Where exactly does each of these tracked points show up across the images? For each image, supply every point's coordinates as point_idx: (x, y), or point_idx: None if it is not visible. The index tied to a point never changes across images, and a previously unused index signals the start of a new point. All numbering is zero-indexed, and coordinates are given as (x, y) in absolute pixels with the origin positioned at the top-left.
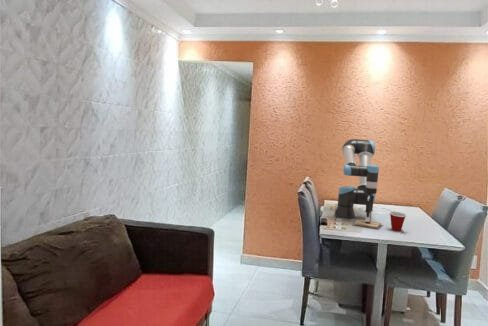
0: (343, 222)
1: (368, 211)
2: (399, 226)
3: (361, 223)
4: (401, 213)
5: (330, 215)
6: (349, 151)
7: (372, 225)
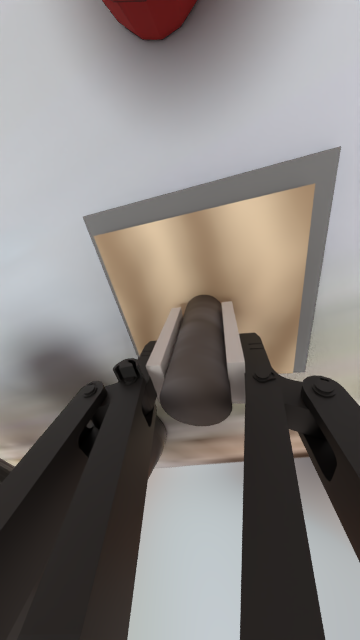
0: (232, 411)
1: (336, 395)
2: None
3: (262, 339)
4: None
5: None
6: None
7: (269, 250)
